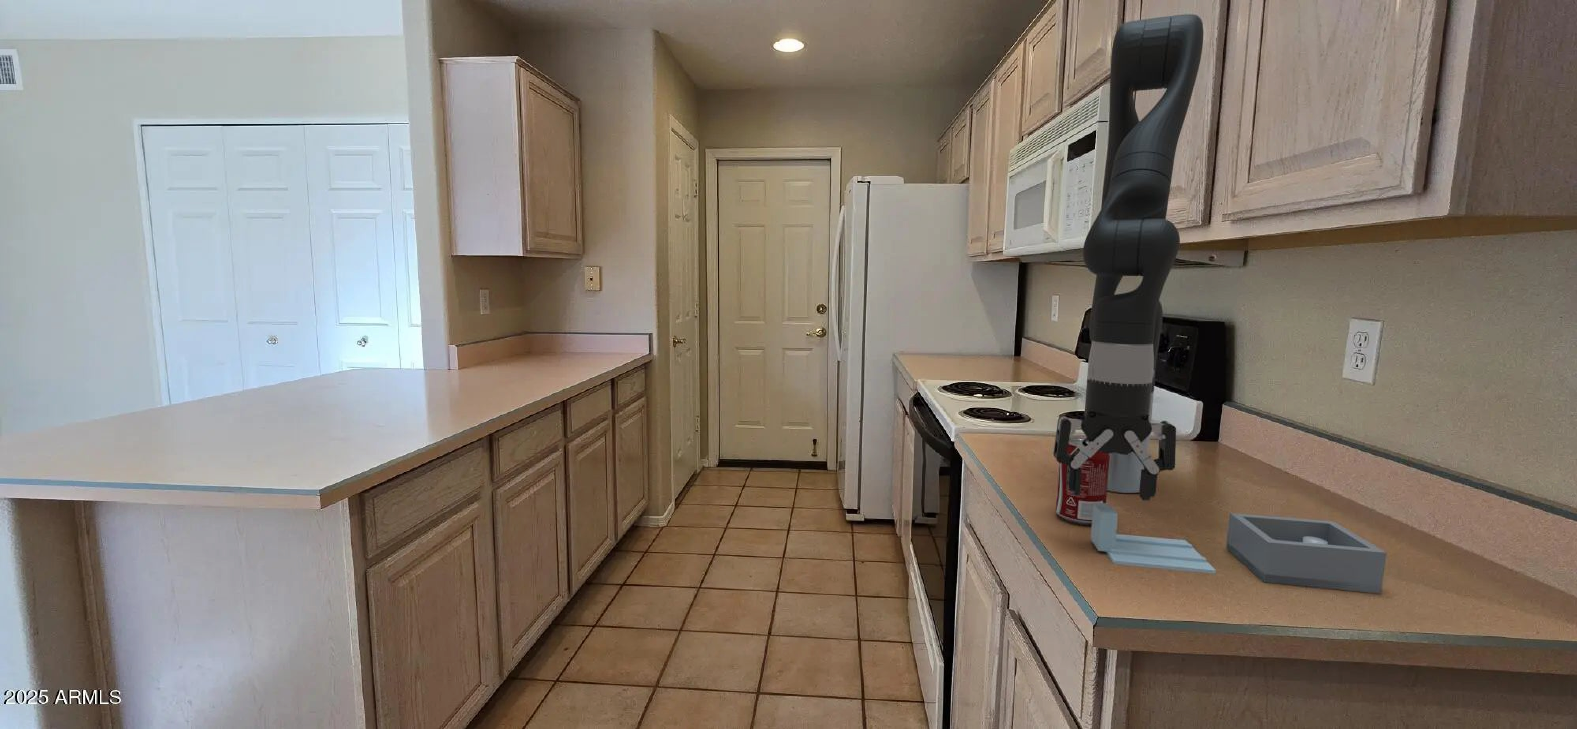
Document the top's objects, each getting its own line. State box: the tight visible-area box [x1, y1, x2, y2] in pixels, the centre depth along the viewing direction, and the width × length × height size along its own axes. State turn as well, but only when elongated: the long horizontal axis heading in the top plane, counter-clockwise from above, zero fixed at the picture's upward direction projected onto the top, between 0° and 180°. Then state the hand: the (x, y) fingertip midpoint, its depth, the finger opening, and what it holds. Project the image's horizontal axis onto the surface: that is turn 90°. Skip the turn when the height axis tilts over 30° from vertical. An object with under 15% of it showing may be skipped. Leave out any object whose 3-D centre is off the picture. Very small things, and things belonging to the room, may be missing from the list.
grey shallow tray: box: [1225, 512, 1387, 595], centre depth 80 cm, size 10×12×5 cm
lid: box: [1090, 503, 1217, 575], centre depth 84 cm, size 10×13×6 cm
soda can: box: [1055, 436, 1110, 526], centre depth 96 cm, size 7×7×12 cm
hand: (1109, 496), depth 85 cm, fingers open, 8 cm apart
